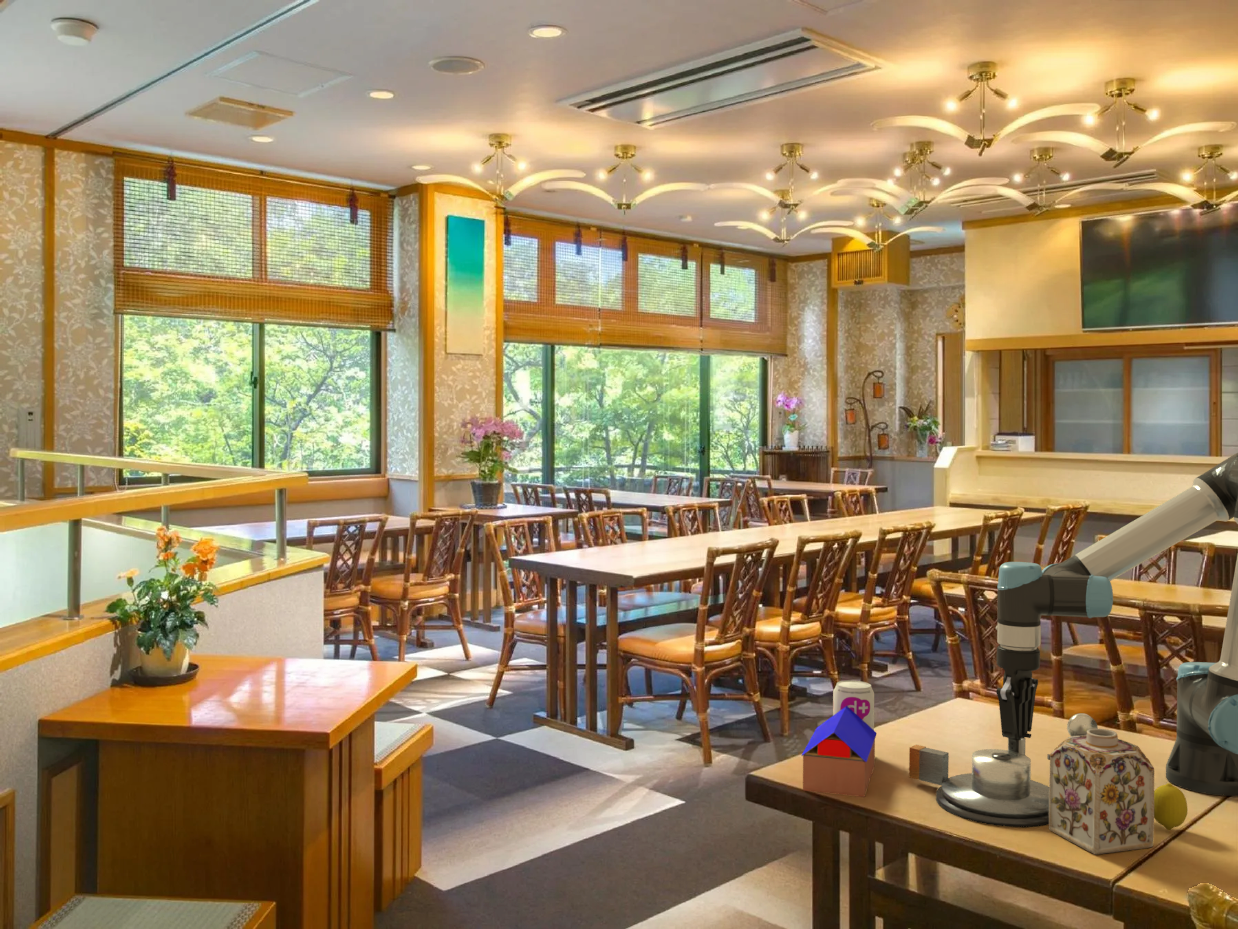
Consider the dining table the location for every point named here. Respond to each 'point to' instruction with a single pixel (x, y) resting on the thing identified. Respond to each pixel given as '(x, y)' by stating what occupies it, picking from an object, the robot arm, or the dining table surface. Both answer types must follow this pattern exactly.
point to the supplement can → (855, 699)
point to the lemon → (1169, 806)
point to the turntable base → (989, 818)
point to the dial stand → (1079, 725)
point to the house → (840, 756)
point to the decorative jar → (1101, 793)
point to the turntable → (959, 787)
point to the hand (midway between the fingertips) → (1016, 772)
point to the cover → (1001, 774)
